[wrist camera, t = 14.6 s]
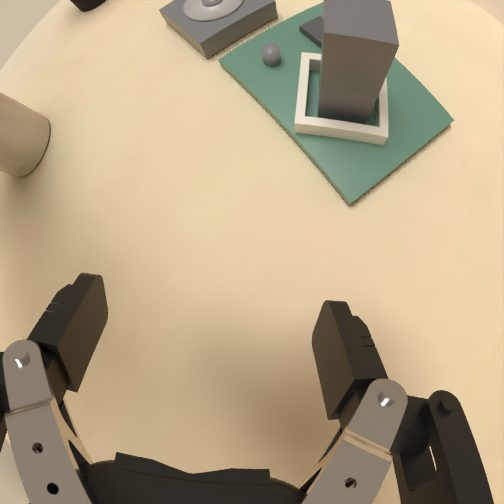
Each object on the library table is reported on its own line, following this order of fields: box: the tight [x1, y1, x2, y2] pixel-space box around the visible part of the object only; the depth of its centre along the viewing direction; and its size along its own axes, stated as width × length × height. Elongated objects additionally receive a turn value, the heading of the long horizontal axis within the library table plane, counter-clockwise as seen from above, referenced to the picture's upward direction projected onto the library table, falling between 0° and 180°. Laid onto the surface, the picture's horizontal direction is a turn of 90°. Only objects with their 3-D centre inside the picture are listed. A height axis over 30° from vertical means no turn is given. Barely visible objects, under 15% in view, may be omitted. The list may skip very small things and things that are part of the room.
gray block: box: [317, 0, 399, 125], centre depth 20 cm, size 4×5×12 cm
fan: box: [159, 0, 278, 59], centre depth 27 cm, size 10×10×4 cm
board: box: [219, 2, 454, 206], centre depth 25 cm, size 20×15×3 cm
